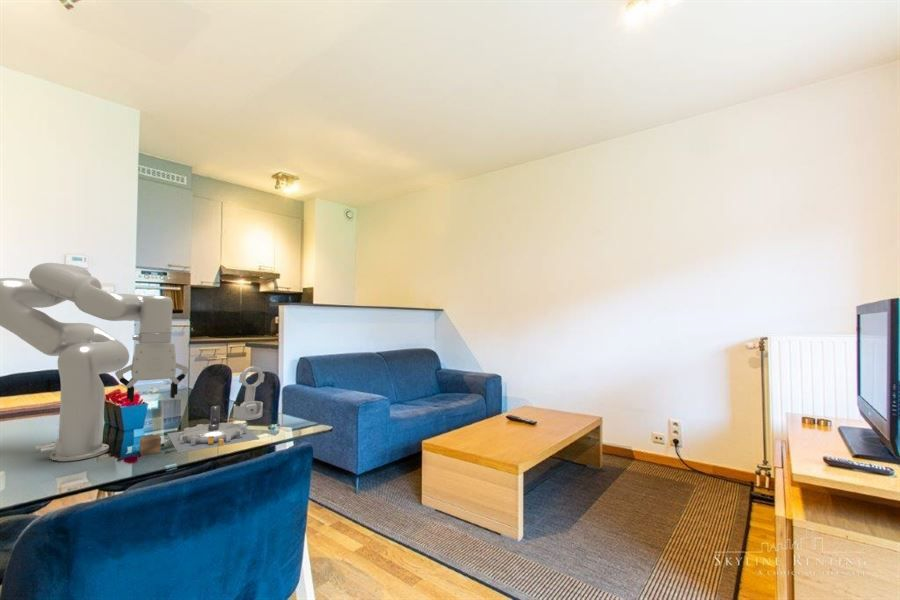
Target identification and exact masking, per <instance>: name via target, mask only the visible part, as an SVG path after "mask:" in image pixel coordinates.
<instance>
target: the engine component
mask: <svg viewBox="0 0 900 600" xmlns="http://www.w3.org/2000/svg"><path fill="white" fill-rule="evenodd" d="M251 371H256V372H257V375H258V377H257V380H256V381H255V382H254V383H252V384H249V383H248V382H247V380H246V377H247V375H248V373H249V372H251ZM264 381H265V373H263V371H262V369H261V368H260V367H258V366H254V365H253V366H248V367H246V368H245V369H244V370H243V371H242V372H241V373H240V374H239V380H238V383H239V384H242V386H244V387H245V390H244V391H245V392H244V393H245V394H244V401H243V402H242V403H240V405H239V406H238V405H236V404H233V410H232V411H233V414H232V418H233V420H236V421H250V420H252V421H253V420H257V419H260V418H262V417H263V406H264V405H263V404H264V403H263V402H262V401H260V400H259V401H258V400H255V397H256V388H257V387H258V386H259V385H261V383H264Z"/></svg>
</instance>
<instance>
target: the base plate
mask: <svg viewBox="0 0 900 600" xmlns="http://www.w3.org/2000/svg"><path fill="white" fill-rule="evenodd" d="M239 423H240V422H239ZM239 423H237V424H239ZM182 431H183V430H182ZM182 431H175V432H174V431H173V432H168V433H166V434H167V436H168V438H169V439H170V441H171V443H172V444H173V446H174V448H175V450H176V452H177V453H178V454H179V453H185V452H190V451H192V452H193V451H197V450H204V449H210V448H214V447H215V448H216V447H221V446H227V445H232V444H233V445H234V444H239V443H245V442H252V441H256V440H260V437H258V436H257V435H256V434H254V433H253V432H252V430H250V429H249V428H247V427H246V433H244V434H243V436H242V437H240V438H233V439H231V441H228V442H225V441H224V439H218V442H215V443H213V444H209V445H208V443H200V444H199V443H198V444H196V445H191V443H189V442H185V443H180V439H178V433H179V432H182Z"/></svg>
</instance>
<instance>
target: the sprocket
mask: <svg viewBox="0 0 900 600" xmlns="http://www.w3.org/2000/svg"><path fill="white" fill-rule="evenodd" d="M220 414H221V406H220V405H213V406H211V407H210V423H207V424H202V423H200V424H196V426H193V427H185V428H183V430H182V432H181V431H178V432H179V433H178V439H180V443H185V442H189V443H191V445H196V444H198V443H199V444H200V443H208V445H209V444H213V443H215V442H218V439H224V441H225V442H228V441H231V439H233V438H240V437H242V436H243V434H244V433H246V428H247V426H246V425H244V423H243V422H239V424H238V423H234V421H227V422H220V418H221V417H220V416H221V415H220Z"/></svg>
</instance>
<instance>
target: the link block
mask: <svg viewBox="0 0 900 600" xmlns="http://www.w3.org/2000/svg"><path fill="white" fill-rule="evenodd" d="M139 441H140V442H139V453H140V454H139V455H140V456H148V455H153V454H160V453H161V449H162V448H161V447H162V437H161V435H160V434H159V433H158V434H152V435H146V436H145V435H144V436H140V439H139Z"/></svg>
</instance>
